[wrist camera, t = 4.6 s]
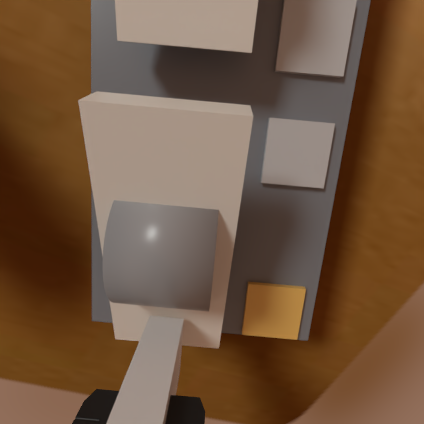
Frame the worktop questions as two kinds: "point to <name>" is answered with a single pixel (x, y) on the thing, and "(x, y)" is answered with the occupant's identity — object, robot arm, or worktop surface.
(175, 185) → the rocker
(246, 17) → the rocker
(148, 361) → the robot arm
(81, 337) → the worktop surface
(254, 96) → the console
